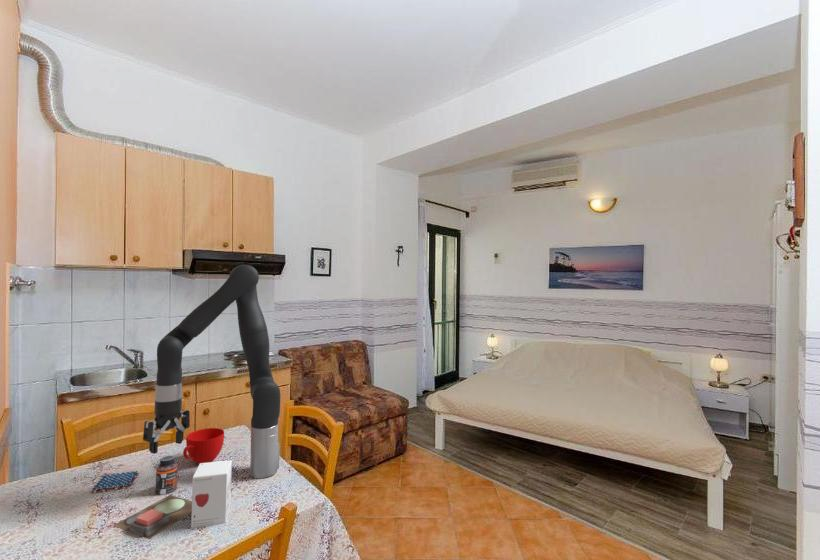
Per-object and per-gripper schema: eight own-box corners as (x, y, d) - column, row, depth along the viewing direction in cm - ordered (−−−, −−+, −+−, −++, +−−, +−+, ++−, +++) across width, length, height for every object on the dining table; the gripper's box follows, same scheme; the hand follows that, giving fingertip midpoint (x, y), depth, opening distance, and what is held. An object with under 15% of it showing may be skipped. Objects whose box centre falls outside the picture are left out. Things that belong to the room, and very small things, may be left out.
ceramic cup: (168, 471, 140) (169, 443, 140) (203, 451, 157) (203, 426, 157) (199, 475, 137) (199, 447, 138) (231, 455, 154) (231, 429, 154)
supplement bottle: (166, 499, 122) (167, 463, 122) (150, 497, 123) (151, 461, 123) (181, 489, 128) (182, 455, 128) (166, 487, 129) (166, 453, 129)
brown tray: (170, 497, 123) (170, 488, 123) (204, 508, 118) (204, 498, 118) (112, 529, 107) (112, 518, 107) (148, 542, 102) (149, 531, 102)
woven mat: (130, 489, 128) (130, 483, 128) (90, 495, 125) (91, 489, 125) (139, 475, 138) (140, 469, 138) (103, 480, 134) (103, 474, 134)
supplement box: (189, 532, 106) (191, 477, 107) (197, 513, 115) (198, 462, 115) (226, 526, 109) (227, 473, 109) (231, 508, 118) (232, 459, 118)
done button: (152, 516, 110) (152, 508, 110) (163, 519, 108) (163, 512, 108) (136, 525, 106) (136, 517, 106) (147, 528, 104) (147, 521, 104)
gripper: (155, 405, 118) (153, 459, 118) (196, 393, 131) (194, 441, 131) (138, 401, 121) (136, 454, 120) (180, 390, 134) (178, 438, 134)
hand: (166, 447), depth 126 cm, fingers open, 8 cm apart
